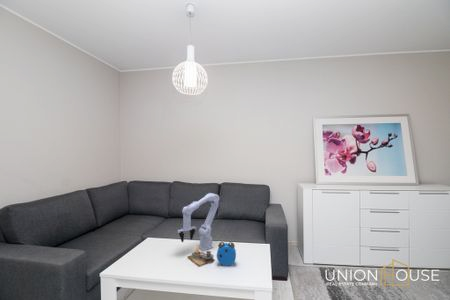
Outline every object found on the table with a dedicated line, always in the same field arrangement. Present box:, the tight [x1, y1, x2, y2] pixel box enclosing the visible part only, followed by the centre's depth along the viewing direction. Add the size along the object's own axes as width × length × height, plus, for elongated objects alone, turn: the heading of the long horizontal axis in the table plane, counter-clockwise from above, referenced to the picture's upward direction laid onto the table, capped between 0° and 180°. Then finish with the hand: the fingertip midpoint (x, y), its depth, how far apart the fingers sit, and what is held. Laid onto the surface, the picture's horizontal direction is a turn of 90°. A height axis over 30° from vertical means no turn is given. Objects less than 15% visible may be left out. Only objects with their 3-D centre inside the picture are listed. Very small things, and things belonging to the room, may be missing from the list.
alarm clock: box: [216, 241, 237, 267], centre depth 154 cm, size 13×6×15 cm, turn 88°
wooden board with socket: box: [187, 250, 215, 268], centre depth 160 cm, size 13×17×6 cm
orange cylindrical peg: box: [195, 246, 200, 255], centre depth 162 cm, size 2×2×7 cm
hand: (186, 240), depth 170 cm, fingers open, 7 cm apart
